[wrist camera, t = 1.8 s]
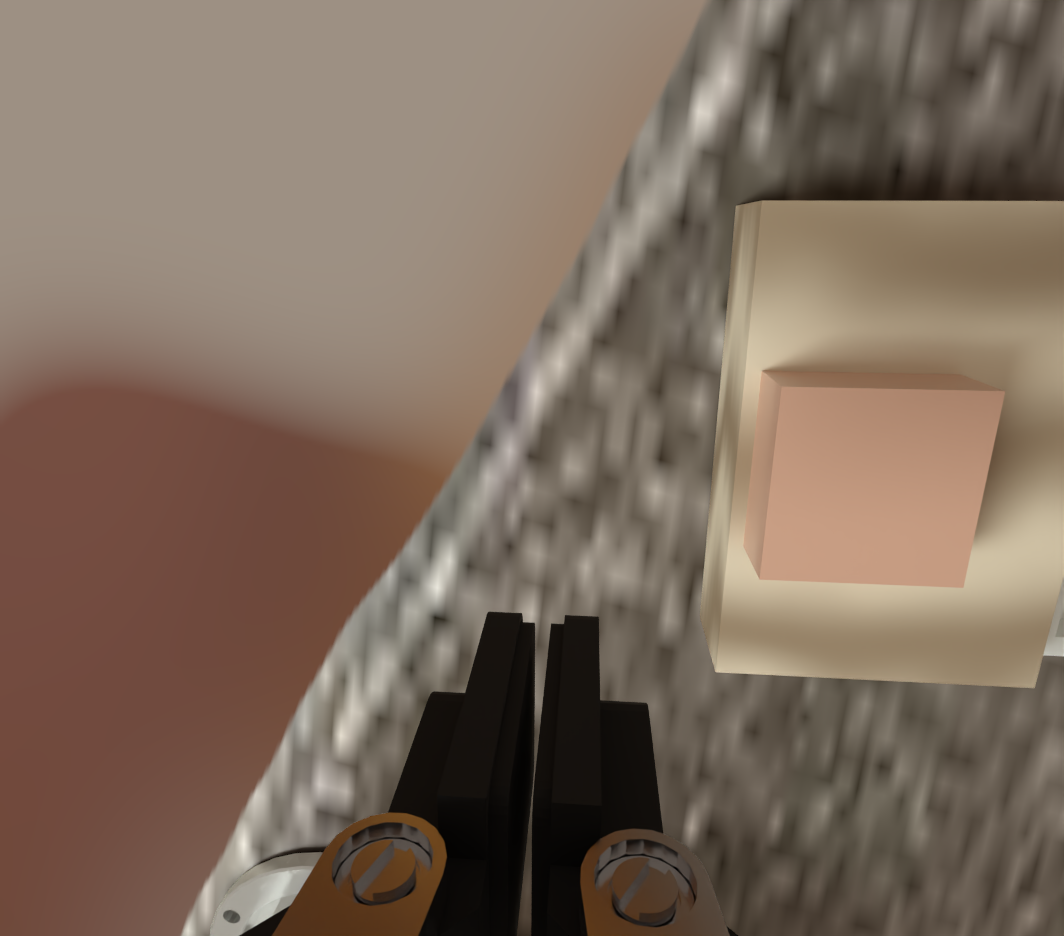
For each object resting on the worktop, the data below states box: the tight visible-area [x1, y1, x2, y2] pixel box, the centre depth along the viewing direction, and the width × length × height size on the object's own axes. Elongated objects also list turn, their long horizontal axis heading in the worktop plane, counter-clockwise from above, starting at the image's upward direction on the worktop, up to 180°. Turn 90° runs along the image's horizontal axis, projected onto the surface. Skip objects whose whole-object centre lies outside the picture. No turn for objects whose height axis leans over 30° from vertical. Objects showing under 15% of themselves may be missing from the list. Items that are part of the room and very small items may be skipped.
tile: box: [743, 371, 1005, 588], centre depth 22 cm, size 6×6×2 cm
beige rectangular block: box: [700, 201, 1064, 688], centre depth 25 cm, size 16×11×4 cm
